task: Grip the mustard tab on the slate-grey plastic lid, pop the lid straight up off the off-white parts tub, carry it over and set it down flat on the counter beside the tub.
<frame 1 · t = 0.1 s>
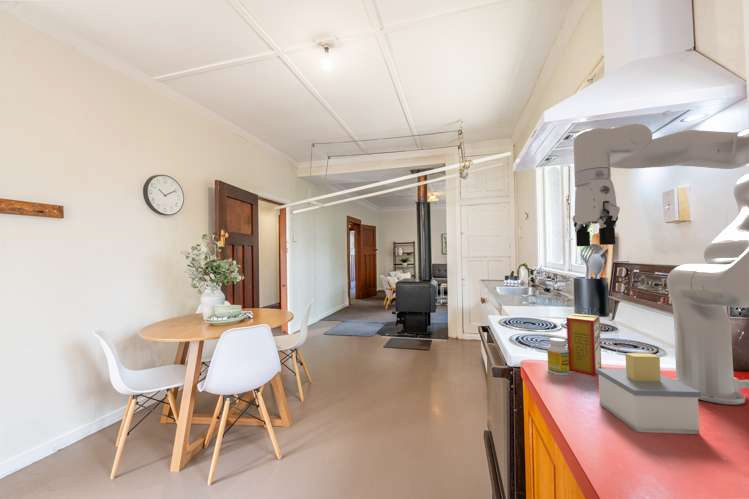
hand: (594, 245, 77), 37 cm above the countertop, tool pointing down, fingers open, 9 cm apart
supplement bottle: (558, 372, 88), on the countertop
parts tub: (644, 417, 63), on the countertop
lid: (643, 383, 63), point 7 cm above the countertop, touching parts tub
baking soda box: (585, 369, 90), on the countertop
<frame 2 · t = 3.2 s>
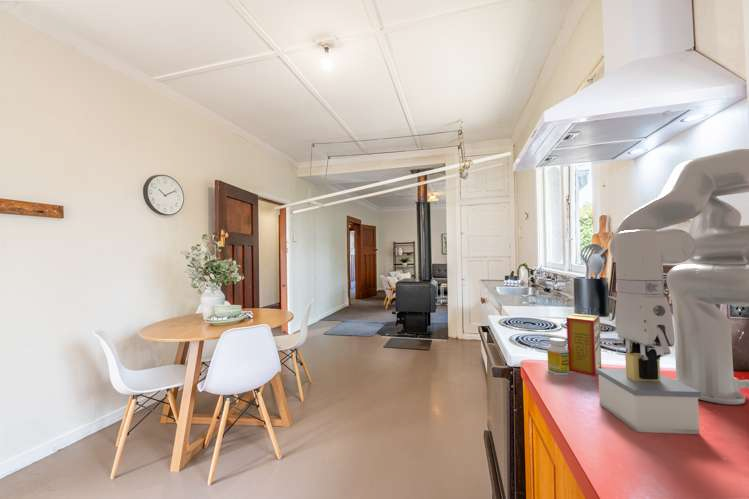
hand: (643, 375, 63), 9 cm above the countertop, tool pointing down, fingers closed on lid
lid: (643, 383, 63), point 7 cm above the countertop, touching gripper
everything else where it was.
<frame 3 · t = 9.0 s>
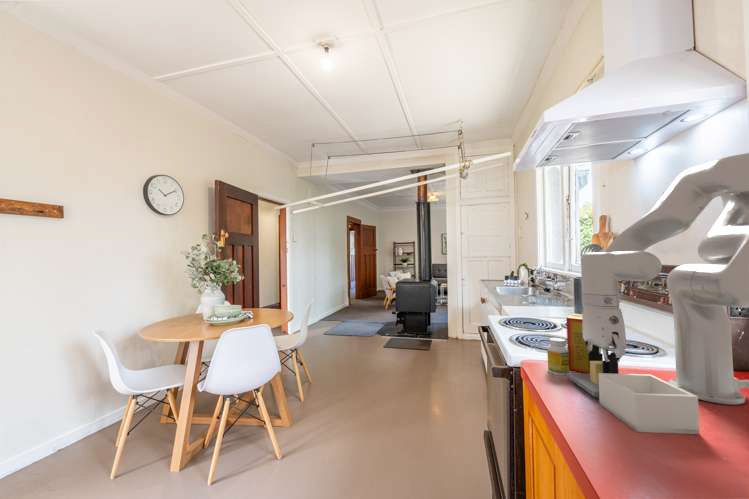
hand: (603, 372, 76), 5 cm above the countertop, tool pointing down, fingers open, 4 cm apart
lid: (603, 386, 76), point 1 cm above the countertop
everything else where it was.
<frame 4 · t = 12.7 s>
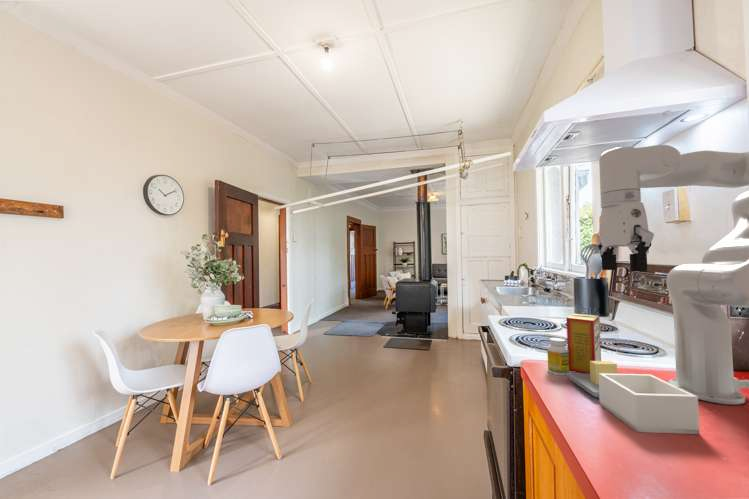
hand: (623, 270, 72), 30 cm above the countertop, tool pointing down, fingers open, 9 cm apart
nothing on the countertop moved.
at the end: lid inside the target area (0.1 cm from its centre), point 1.0 cm above the countertop; lid tilted 0°; the gripper is holding nothing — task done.
